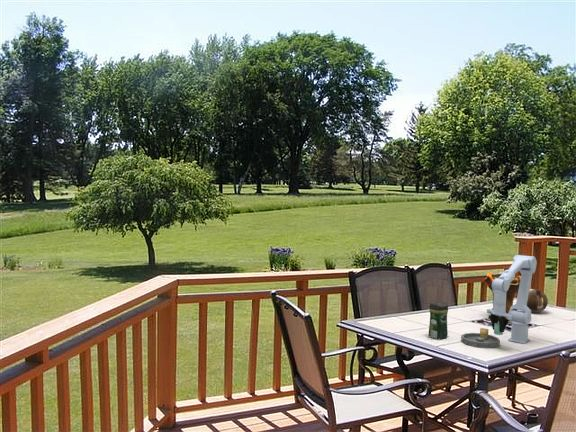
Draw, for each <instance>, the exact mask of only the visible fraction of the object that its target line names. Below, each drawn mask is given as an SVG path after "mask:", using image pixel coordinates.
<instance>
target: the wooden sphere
mask: <svg viewBox="0 0 576 432" xmlns="http://www.w3.org/2000/svg"><path fill="white" fill-rule="evenodd" d="M548 301H549V300H548V297H547V295H546V293H544V291H542V290H540V289H537V288H530V289H529V295H528V300H527V307H528V308H529V309H530V310H531V313H533V314H534V313H535V314H537V313H541V312H543V311H545V310H546V308H547V307H548V303H549V302H548Z"/></svg>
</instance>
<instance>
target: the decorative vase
mask: <svg viewBox="0 0 576 432" xmlns="http://www.w3.org/2000/svg"><path fill="white" fill-rule="evenodd" d="M496 278H497V279H498V278H499V277H495V276H494V272H491V271H490V272H488V273H486V278H484V279H483V285H485V286H487V288H488V289H489V290H490V291H491V292H492V301H493V300H494V293H493V289H492V282H493V280H494V279H496ZM520 280H521V275H518V276H516V277H515V278H514V279H513V280H512V282H511V283H510V286H509V289H508V291H506V313H509V311H510V308H511V306H513V305H514V299H515V294H518V290H519V285H520ZM491 309H492V310H493V307H492V308H491ZM499 318H501V317H499ZM486 320H489V321H490V322H491V320H490V318H489V316H487V317H486ZM498 323H499V320H498ZM508 323H509V324H511V323H510V320H509V322H508ZM508 323H507V324H508Z"/></svg>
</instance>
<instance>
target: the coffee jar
mask: <svg viewBox="0 0 576 432" xmlns="http://www.w3.org/2000/svg"><path fill="white" fill-rule="evenodd" d="M428 310H429V314H430V315H429V326H428V327H429V328H428V337H429V338H431V339H435V340H441V339H446V338H447V337H448V335H449V334H448V332H449V331H448V312H449V305H448V302H446V301H445V302H444V301H441V300H440V301H437V302H431V303H429V308H428Z"/></svg>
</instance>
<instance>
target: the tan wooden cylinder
mask: <svg viewBox="0 0 576 432" xmlns="http://www.w3.org/2000/svg"><path fill="white" fill-rule="evenodd" d="M479 333H480V337H483V338H485V340H488V335H489V328H486V327H481V328H479Z"/></svg>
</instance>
